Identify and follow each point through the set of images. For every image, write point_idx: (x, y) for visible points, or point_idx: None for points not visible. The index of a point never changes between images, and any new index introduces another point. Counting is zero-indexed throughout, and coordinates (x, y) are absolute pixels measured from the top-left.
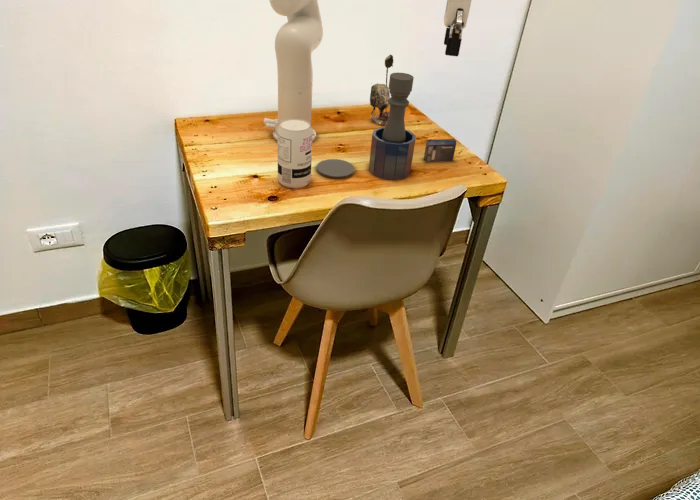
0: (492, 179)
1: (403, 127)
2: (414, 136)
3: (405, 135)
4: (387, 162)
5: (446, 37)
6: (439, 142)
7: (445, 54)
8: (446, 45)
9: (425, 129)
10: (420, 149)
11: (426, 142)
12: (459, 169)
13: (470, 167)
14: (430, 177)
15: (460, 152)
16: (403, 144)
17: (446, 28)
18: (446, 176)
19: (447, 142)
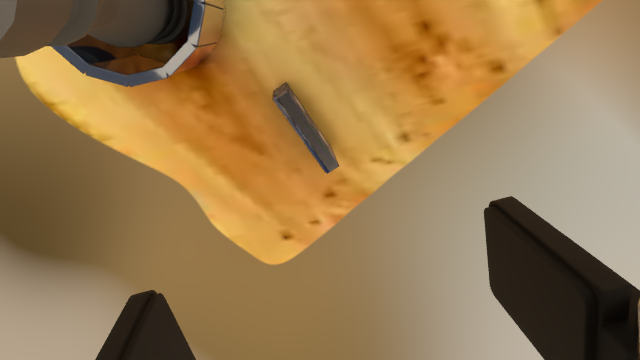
0: (269, 255)
1: (96, 36)
2: (156, 76)
3: (129, 45)
4: None
5: (520, 246)
6: (296, 130)
7: (134, 295)
8: (118, 345)
9: (506, 30)
10: (350, 55)
11: (286, 90)
12: (279, 180)
13: (305, 201)
14: (191, 126)
15: (383, 161)
16: (65, 57)
17: (610, 283)
18: (222, 161)
19: (311, 150)
